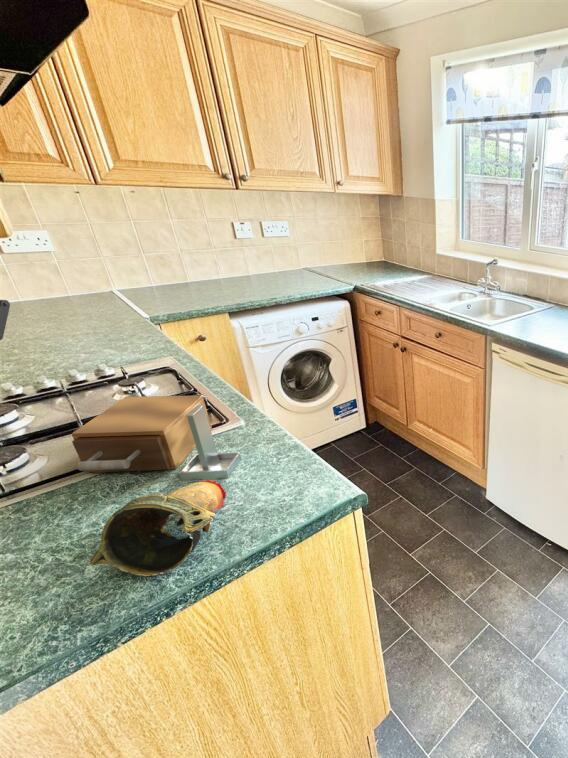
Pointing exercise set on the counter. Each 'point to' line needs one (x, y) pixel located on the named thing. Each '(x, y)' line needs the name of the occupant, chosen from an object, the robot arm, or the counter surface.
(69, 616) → the counter surface
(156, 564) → the pot
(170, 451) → the cabinet
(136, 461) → the drawer
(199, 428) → the inverted t stand
